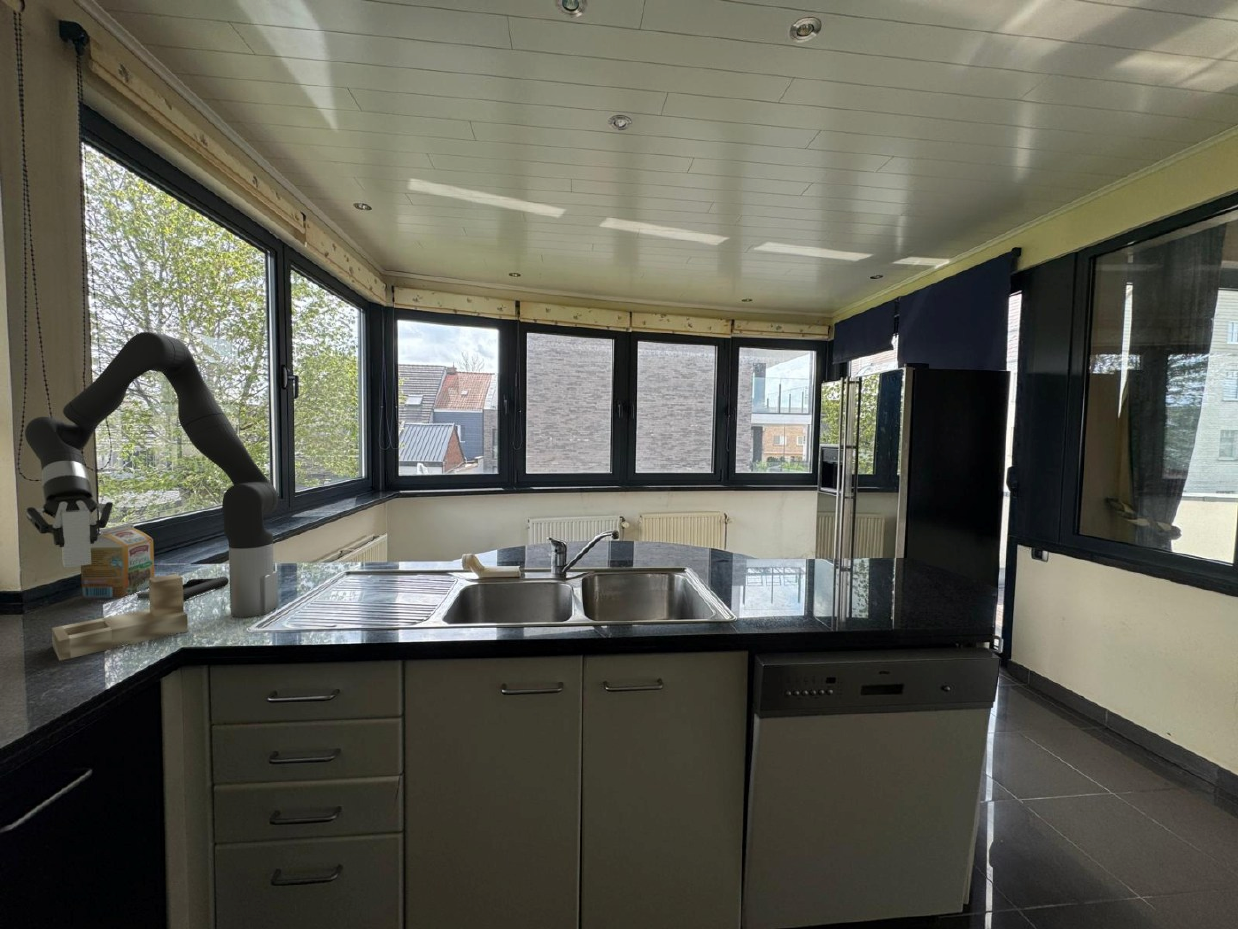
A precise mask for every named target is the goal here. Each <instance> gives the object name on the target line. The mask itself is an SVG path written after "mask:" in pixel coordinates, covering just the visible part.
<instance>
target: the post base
mask: <svg viewBox="0 0 1238 929" xmlns="http://www.w3.org/2000/svg"><path fill="white" fill-rule="evenodd" d="M183 584H184V580H183V576H181V575H179V574H178V573H175V574H167V575H162V576H155V577H154V578H149V589H148V592H149V599H148V600H149V608H148V609H144V610H142V609H141V610H138V611H137V610H136V611H134V612H133V611H132V612H128V613H123V614H117V615H111V616H106V617H103V618H101V617H100V618H96V619H92V620H85V621H81V622H76V623H70V624H65V625H60V626H55V627H51V636H52V638H51V639H52V641H51V642H52V648H53V650H54V652H55V654H56V656H57V658H58V661H64V660H68V659H73V658H77V657H80V656H81V657H82V656H86V655H91V654H95V653H98V652H99V653H100V652H103V651H108V650H112V649H117V648H119V647H118V646H121V647H123V646H122V645H126V644H130V645H134V644H138V642H139V643H143V642H147V641H151V640H150V639H152V640H155V639H154V638H156V639H160V638H164V636H165V637H168V636H167V635H169V636H172V635H171V634H174V635H177V634H176V633H178V634H181V633H180V632H182V633H185V632H186V633H187V632H188V631H189V628H188V627H189V625H188V624H189V622H188V613H187V612H185V611H184V607H185V605H184V601H183ZM142 641H143V642H142ZM126 646H127V645H126ZM116 647H117V648H116Z"/></svg>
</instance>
